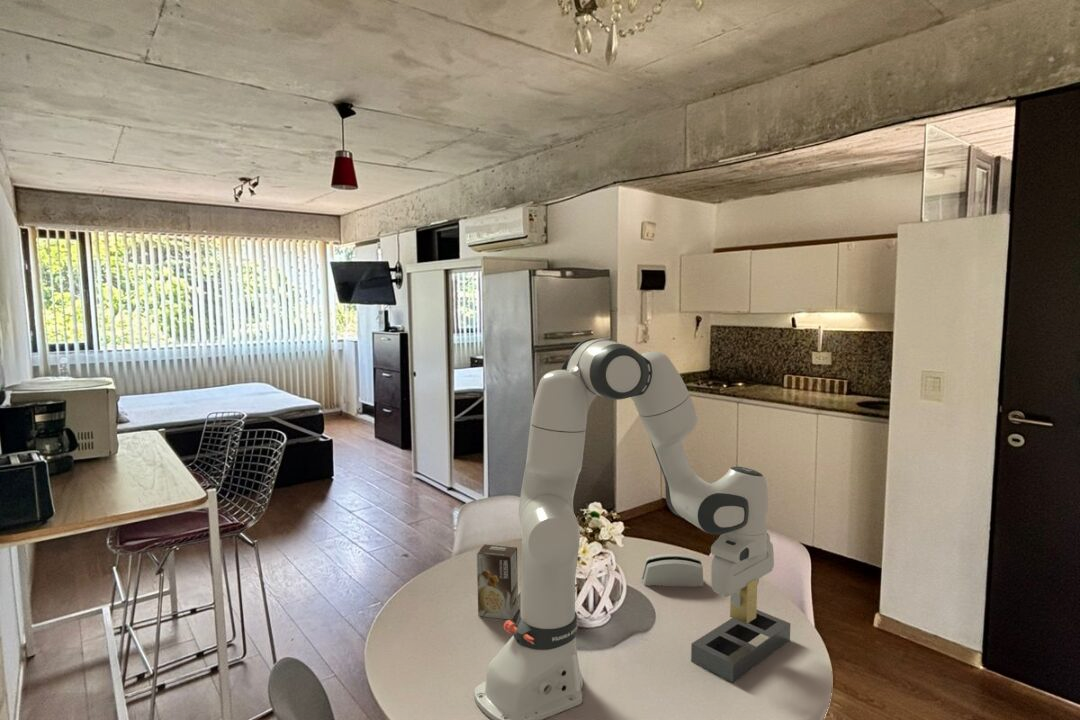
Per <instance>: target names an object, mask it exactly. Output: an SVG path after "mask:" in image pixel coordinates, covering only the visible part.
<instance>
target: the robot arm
mask: <svg viewBox="0 0 1080 720" xmlns="http://www.w3.org/2000/svg"><path fill="white" fill-rule="evenodd" d="M597 396H600V397H602V398H605V399H608V400H615V401H616V400H618V401H619V400H626V399H629V398H631V400H632V401H633V403H634V404H633V405H634V406H635V408H636V410H637V413H638V415H639V418H640V420H641V422H642V424H643V425H644V428H645V430H646V432H647V434H648V436H649V440H650V442H651V445H652V446H651V447H652V448H653V451H654V455H655V457H656V459H657V462H658V465H659V467H660V470H661V472H662V475H663V478H664V483H665V484H664V485H665V500H666V504H667V506H668V508H669V510H670V511H671V512H672V513H673V514H675V515H676V516H678V517H680V518H681V519H684V520H685V521H688V522H689V523H691V524H692V525H693V526H695V527H697V528H698V529H700V530H701V531H703V532H705V533H707V534H709V535H714V536H719V537H718V538H717V539H716V540H715V541H714V542H713V544H711V547H710V554H711V555H713V558H712V559H711V560H712V561H711V566H710V567H711V570H710V582H711V589H712V591H713V592H715V594H718V595H720V596H723V597H730V599H731V598H732V601H731V600H730V601H731V604H732V605H733V606H735V607H737V608H738V607H740V606H741V605H742V598H741V597H740V595H739V593H740V592H741V589H742V588H744V587H745V586H746V585H747V583H749V582H751V581H752V580H754V579H756V578H757V587H758V585H759V582H760V579H761V578H763V577H764V576H767V574H769V573H771V572H772V571H773V569H774V566H775V556H774V555H775V553H774V545H773V542H772V541H771V535H770V534H769V533H768V527H767V523H766V517H767V514H768V505H769V504H768V503H769V502H768V501H769V496H768V494H769V493H768V485H767V480H766V477H765V476H764V475H763V474H762V473H761V472H759V471H757V470H754V469H752V468H749V467H743V466H731V467H729V469H728V470H727V472H726V473H725V474H724V475H723V476H722V477H720V478H719V479H718V480H717V481H714V482H711V483H710V482H707V481H706V480H704V479H702V478H701V477H700V476H699V475H697V474H696V473H695V472H694V471H693V469H692V467H691V466H690V463H689V460H688V457H687V454H686V451H685V449H684V446H683V440H685V439H686V438H688V437H689V436H690V435H691V434H692V433H693V432H694V430H695V428H696V425H697V423H698V418H697V411H696V408H695V404H694V402H693V399H692V397H691V395H690V392H689V390H688V388H687V385H686V384H685V382H684V379H683V378H682V375H680V372H679V371H678V370H677V368H676V366H675V365H674V363H673V361H671V359H670V357H668V356H667V354H666V353H663V352H660V351H654V350H653V351H647V352H642V353H641V354H640V353H639V352H638V351H637V350H635V349H634V348H632V347H631V346H628V345H626V344H623V343H619V342H617V341H614V340H612V339H606V338H588V339H585V340H583V341H581V342H579V343H578V344H577V345H576V346H575V347H574V348H573V349H572V351H571V352H570V353H569V355H568V358H567V359H566V360H565V362H564V363H563V365H562V367H561V369H555V370H551V371H549V372H547V373H545V374H544V375H543V376H542V377H541V378H540V379H539V382H538V385H537V389H536V392H535V396H534V401H533V404H532V409H531V414H530V415H531V417H530V423H529V432H528V440H527V441H528V442H527V453H526V462H525V467H524V473H523V478H522V484H521V490H520V497H519V503H518V517H519V519H518V520H519V526H520V534H521V564H520V565H521V567H520V577H519V578H520V585H519V586H520V596H519V597H520V598H519V599H520V611H519V613H518V615H517V619H516V622H513V620H509V619H506V620H505V622H504V624H503V630H505V631H506V632H508V633H509V634H512V636H510V638H509V640H508V641H507V642H506V643H505V644H504V646H502V648H501V649H500V651H498V652H497V654H496V655H495V656H494V657H493V659H492V660H491V661H490V662H489V664H488V666H487V670H486V671H487V672H486V675H485V676H486V677H485V680H484V681H483V682H481V683H480V684H479V685H477V686H475V688H474V691H473V699H474V702H475V703H476V705H477V707H478V708H479V709H480V710H481V711H482V712H483V713H484V714H485V715H486V716H487V717H488V718H489V719H491V720H544V719H546V718H549V717H552V716H554V715H557V714H559V713H562V712H564V711H567V710H569V709H572V708H575V707H577V706H580V705H581V704H582V703H583V693H582V690H583V689H582V688H583V685H584V678H583V675H582V673H581V667H580V664H579V657H578V650H577V641H576V640H577V639H576V637H577V635H578V627H579V626H578V615H577V612H576V575H577V567H578V559H579V550H580V538H581V537H580V536H581V535H580V534H581V532H580V531H581V530H580V524H579V522H578V519H577V517H576V515H575V513H574V495H575V492H576V491H575V490H576V486H577V483H578V479H579V475H580V473H581V471H582V469H583V468H582V467H583V459H584V450H585V442H586V432H587V422H588V420H587V419H588V413H589V410H590V406H591V405H592V403H593V402H594V400H595V399H596V397H597Z"/></svg>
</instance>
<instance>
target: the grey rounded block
mask: <svg viewBox="0 0 1080 720" xmlns="http://www.w3.org/2000/svg"><path fill="white" fill-rule="evenodd" d="M641 579H642V584H643V586H651V585H652V586H653V585H656V587H657V585H658V587H659V586H660V587H663V586H664V587H697V586H703V587H704V568H703V564H702V561H701V559H700V558H699V557H696V556H692V555H688V554H682V553H663V554H661V553H660V554H656V555H651V556H648V557H647V558H646V559H645V564H644V568H643V571H642V574H641ZM661 585H662V586H661ZM653 587H654V586H653Z"/></svg>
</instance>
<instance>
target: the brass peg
mask: <svg viewBox="0 0 1080 720" xmlns="http://www.w3.org/2000/svg"><path fill="white" fill-rule="evenodd" d="M739 595H740V597H741V598H742V605H741V606H740V607H738V608H737V607H735V606H733V605H732V604H731V601H732V598H731V597H730V601H729V603H730V605H729V607H730V609H729V610H730V611H729V613H730V614H729V617H730V618H734V619H736V620H739V621H741V622H743V623H745V624H748V623H749V622H751V621H752V620H754V619H755V618H756V610H758V609H757V608H758V607H757V604H758V603H757V602H758V598H757V597H758V586H757V578H756V579H754V580H752V581H751V582H749V583H747V585H746V586H745V587H744V588H742V589H741V592H740V593H739Z"/></svg>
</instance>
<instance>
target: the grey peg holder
mask: <svg viewBox="0 0 1080 720" xmlns="http://www.w3.org/2000/svg"><path fill="white" fill-rule="evenodd" d="M790 640H791V622H789V621H786V620H783V619H782V618H781V619H780V618H778V617H776V616H773V615H771V614H769V613H766V612H764V611H761V610H759V609H757V610H756V618H755V619H754V620H752V621H751V622H749V623H748V624H745V623H743V622H741V621H739V620H736V619H734V618H732V617H730V618H729V620H726V621H725V622H724V623H722V624H720V625H719V626H717V627H715V628H714V629H712V630H711V631H709V632H708V633H706V634H704V635H703V636H701V637H699V638H698V639H697V640H694V641H693V642H691V647H690V648H691V651H690V652H691V653H690V661H691V663H694V664H695V663H696V665H698V666H700V667H701V668H703V669H705V670H707V671H709V672H711V673H712V674H715V675H717V676H718V677H720V678H721V679H724V680H726V681H728V682H730V683H732V684H734V683H735V682H737V681H738V680H740V678H742V677H743V676H744V675H746V674H748V673H749V672H750V671H751V670H752V669H754V668H755V667H757V666H758V665H760V663H762V662H763V661H764V660H766V659H767V658H769V656H771V655H773V654H774V653H775V652H776V651H777V650H779V649H780V648H782V647H783V646H784V645H785V644H787V643H788V642H789V641H790Z"/></svg>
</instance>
